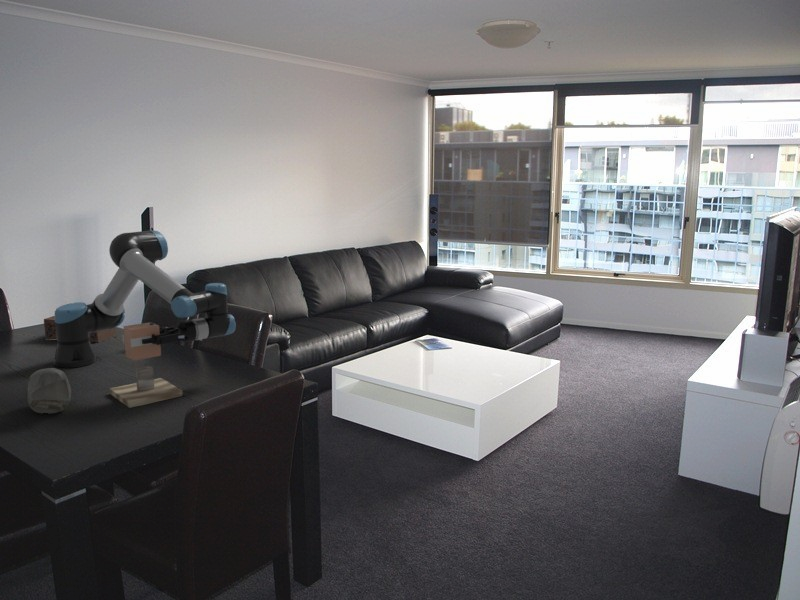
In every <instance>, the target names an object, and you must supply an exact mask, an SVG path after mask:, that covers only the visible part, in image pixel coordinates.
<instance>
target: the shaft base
mask: <svg viewBox="0 0 800 600" xmlns="http://www.w3.org/2000/svg"><path fill="white" fill-rule="evenodd" d="M154 374H155V373H154V367H153V366H151V365H149V366H144V367H138V368H135V377H136V378H135V379H136V382H134V383H130V384H124V385H119V386H115V387H109V394H110V395H111V396H112V397H114V398H115V399H116V400H118V401H119V402H120V403H122V404H123V405H124V406H126V407H127V408H128V409H129V408H130V409H131V408H134V407H140V406H144V405H148V404H153V403H156V402H157V403H158V402H161V401H167V400H170V399H175V398H179V397H183V389H181V388H179V387H177V386H176V385H174V384H172V383H171V382H169V381H168V380H166V379H164V378H162V377H158V378H155V377H154V376H155V375H154Z"/></svg>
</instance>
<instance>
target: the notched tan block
mask: <svg viewBox="0 0 800 600" xmlns="http://www.w3.org/2000/svg"><path fill="white" fill-rule="evenodd" d="M159 328H160V325H159V324H156V323H154V321H153V322H151V321H150V322H145V323H144V322H143V323H138V324H136V323H135V324H131V325H123V334H124V339H125V343H124V349H125V350H124V351H125V358H128V359H129V360H131V361H133V362H134V361H139V360H144V359H149V358H155V357H160V356H162V348H161V344H159V345H156V344H148V345H142V346H136V347H131V339H133V338H139V337H145V336H151V338H152V334H154V335H155V336H156V335H160V331H159Z"/></svg>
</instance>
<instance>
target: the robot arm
mask: <svg viewBox="0 0 800 600" xmlns="http://www.w3.org/2000/svg"><path fill="white" fill-rule="evenodd" d="M168 253H169V245H168V241H167V240H166V238H165V236H164V234H163V233H162V232H160V231H158V230H150V229H149V230H144V231H143V230H142V231H133V232H132V231H131V232H122V233H120V234H118V235H117V236H115V237H114V238H113V239H112V241H111V243H110V245H109V256H110V259H111V260H112V262H113V264H114V265H115V266H116V267H118V269H117V270H116V272H115V274H114V275H113V277H112V279H111V281H110V282H109V283H108V285H107V286H106V288H105V290H104V291H103V293H100V294H98V295H97V296H95V298H94V300H93V302H92V303H89V304H86V303H85V302H78V301H77V302H73V303H65V304H62V305H60V306H59V307H56V309H55V310H54V316H55V319H54V321H55V326H56V336H57V341H56V342H57V343H56V344H57V345H56V351H55V354H54V358H53V365H54V366H55V365H56V366H55V367H57V366H58V367H57V368H62V367H66V368H67V369H68V368H69V367H71V368H78V367H84V366H88V365H89V366H90V365H92V364H95V362H96V361H97V355H96V353H95V350H94V349H93V346H92V344H91V342H90V338H89V334H90V333H94V332H98V331H102V330H107V329H113V328H115V327H116V328H117V327H119V326H120V325H121V324H123V322H124V321H125V318H126V316H125V313H126V312H125V306H124V303H125V302H126V300H127V299H128V297H129V296H130V294H131V292H133V289H134V287H136V285H137V284H138V282H139V281H141V282H142V283H143V284H144V285H146V287H148V288H150V289H151V290H152V291H153V292H154V293H155V294H157V295H158V296H160V297H161V298H162V299H164V300H165V301H167V303H169V304H170V309H171V311H172V313H173V315H174V316H175V317H176V318H178V319H185V318H191V317H195V316H198V315H202V314H205V313H206V317H200V318H193V319H188V320H181V321H180V322H179V323H178V326H177V327H176V326H169V325H167V326H163V327H160V326H159V331H160V335H156V336H155V335H154V334H152V338H151V336H145V337H139V338H133V339H131V347H136V346H142V345H148V344H156V345H159V344H160V345H164V344H169V343H174V342H180V341H182V342H183V343H188V342H193V341H201V342H202V341H203V340H205V339H211V338H217V337H225V336H228V335H232V334H233V333H235V331H236V328H237V327H236V326H237V324H236V321H235V316H233V314H230V313H229V311H228V310H229V309H228V306H229V305H228V290H227V285H226V284H224V283H221V282H213V283H211V282H210V283H207V284H206V285H205V287H204V291H199V292H191V290H189V289H188V288H187V287H185V286H183V285H182V284H181V283H180V282H178V281H177V280H176V279H174V278H173V277H171V275H169V274H168V273H167V272H165V271H164V270H162V268H160V267H159V266H157V265H156V262H157V261H162V260H165V258H167V256H168ZM121 336H122V343H123V344H125V339H124V333H123V334H122V335H121ZM66 368H65V369H66Z"/></svg>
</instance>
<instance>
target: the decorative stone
mask: <svg viewBox="0 0 800 600" xmlns="http://www.w3.org/2000/svg"><path fill="white" fill-rule="evenodd" d="M71 397H72V388H71V384H70V382H69V379H68V377H67V374H66V373H65V371H63V370H61V369H58V368H55V367H47V368H41V369H39V370H38V369H37V370H35V372H33V373H32V374H31V375H30V377H29V380H28V383H27V403H28V405H29V408H30V409H31V410H32V411H33V412H35V413H38V414H43V413H48V414H57V413H59V412H60V413H61V412H62V411H64V410H66V409H67V408H68V406H69V405H70V402H71Z"/></svg>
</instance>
